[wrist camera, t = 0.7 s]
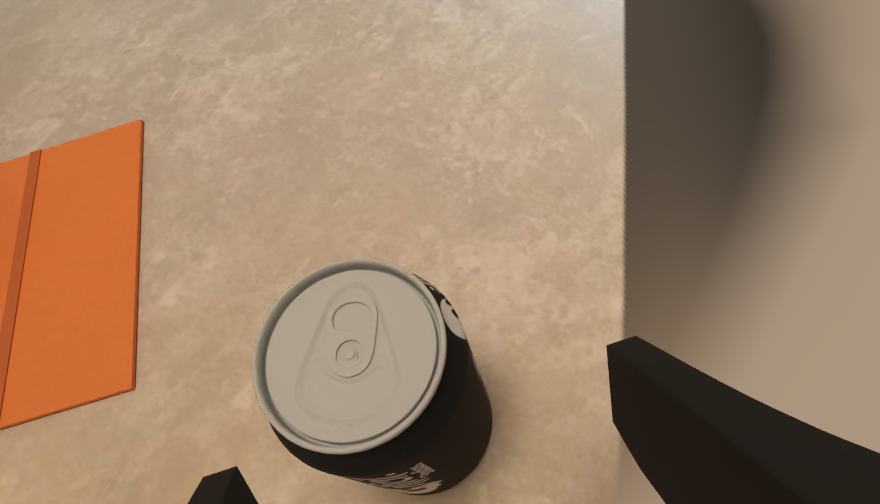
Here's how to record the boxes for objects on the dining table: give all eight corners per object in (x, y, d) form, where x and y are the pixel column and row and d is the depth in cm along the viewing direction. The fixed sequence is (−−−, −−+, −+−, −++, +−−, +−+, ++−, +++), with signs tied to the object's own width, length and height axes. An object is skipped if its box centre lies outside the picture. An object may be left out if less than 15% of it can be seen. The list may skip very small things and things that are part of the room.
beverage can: (354, 498, 25) (218, 475, 14) (361, 358, 28) (253, 254, 17) (497, 493, 24) (465, 466, 13) (488, 350, 27) (457, 234, 16)
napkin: (134, 389, 29) (130, 387, 29) (-139, 471, 29) (-148, 471, 29) (143, 121, 39) (140, 118, 38) (-63, 186, 39) (-69, 183, 39)
